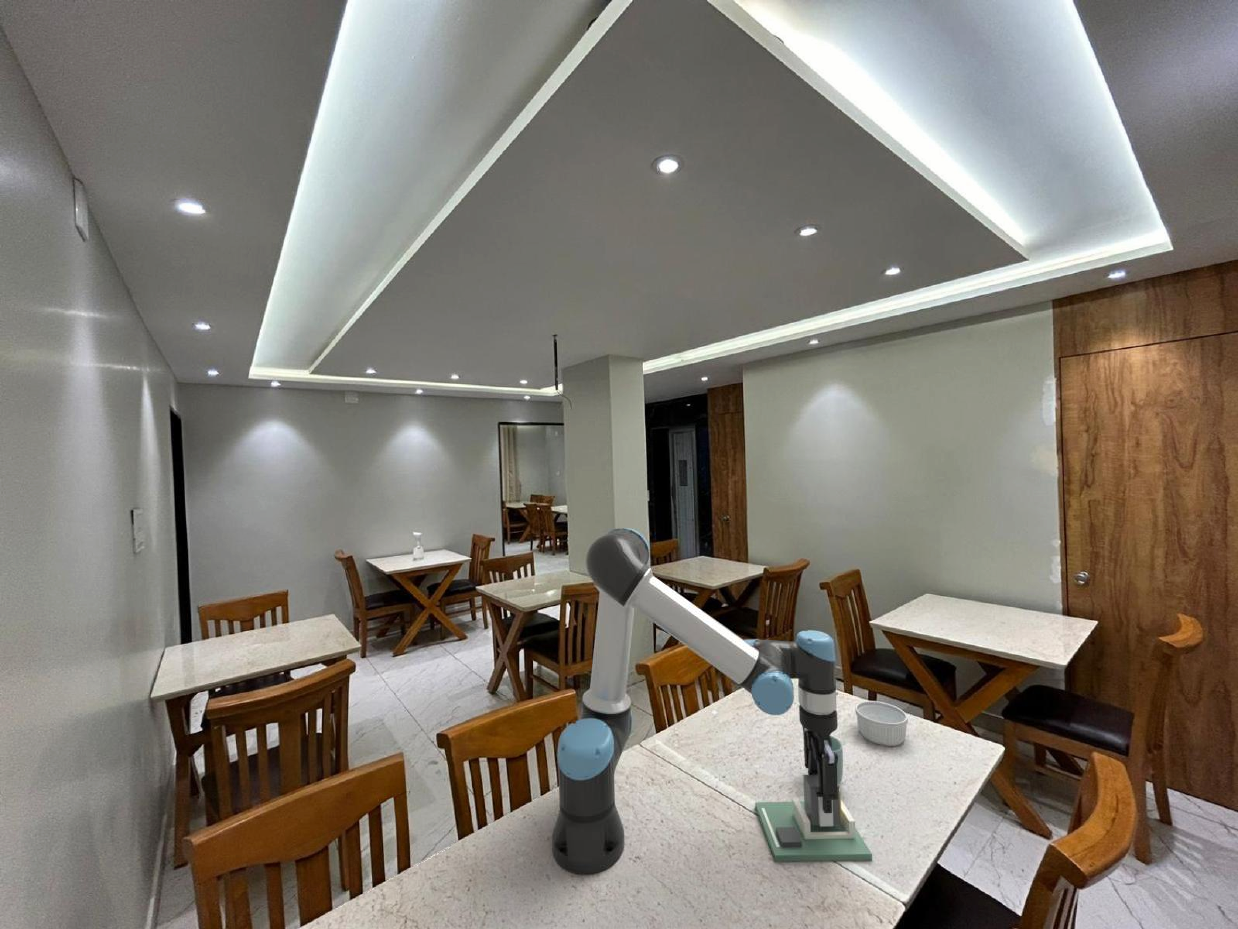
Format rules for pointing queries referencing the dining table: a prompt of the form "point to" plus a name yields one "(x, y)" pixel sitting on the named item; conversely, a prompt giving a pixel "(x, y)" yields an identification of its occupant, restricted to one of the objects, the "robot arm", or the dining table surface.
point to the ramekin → (881, 722)
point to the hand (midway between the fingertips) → (821, 816)
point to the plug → (812, 801)
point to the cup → (838, 749)
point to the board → (809, 834)
